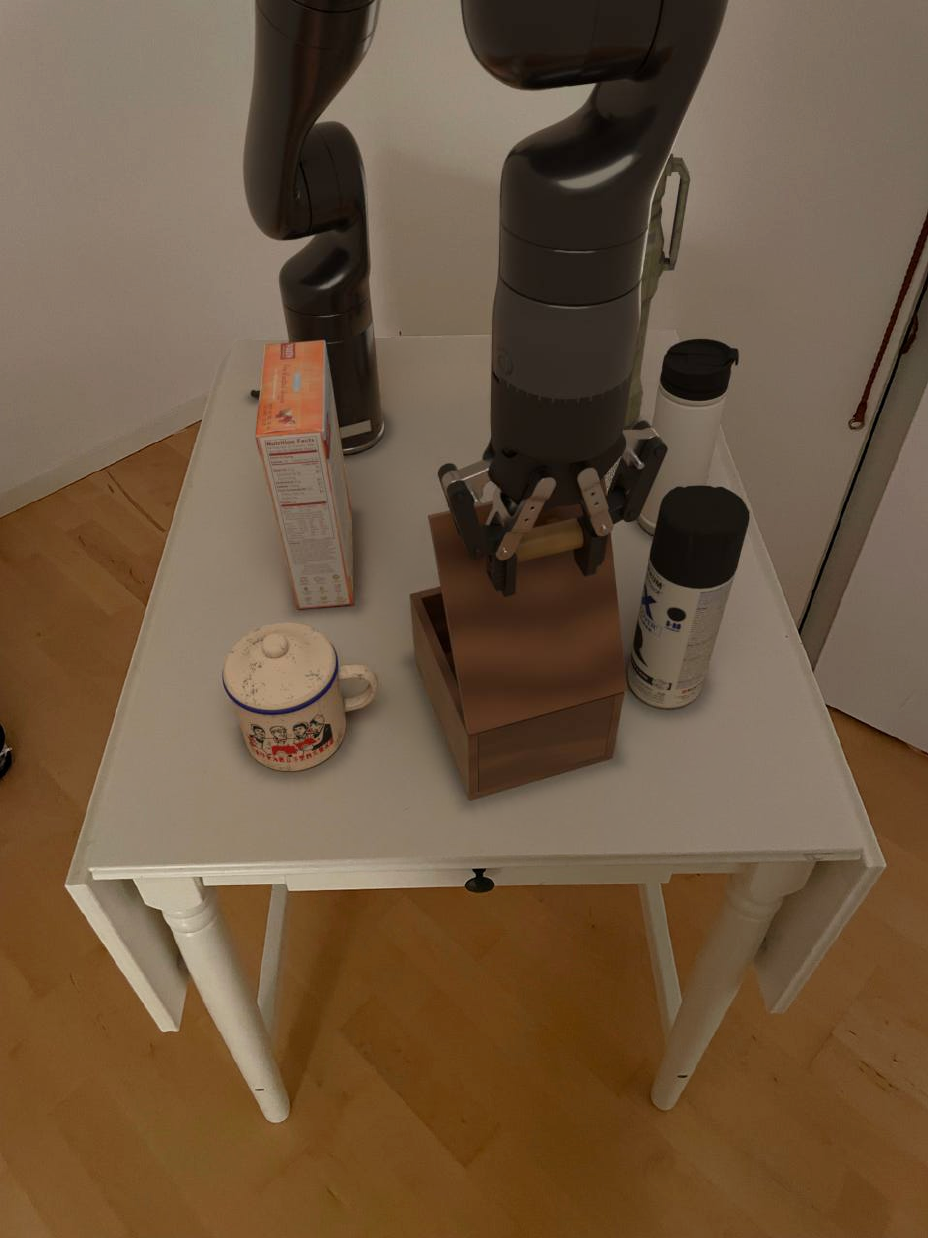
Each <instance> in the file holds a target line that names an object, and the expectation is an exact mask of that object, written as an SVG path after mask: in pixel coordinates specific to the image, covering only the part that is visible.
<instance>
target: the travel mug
mask: <svg viewBox="0 0 928 1238" xmlns="http://www.w3.org/2000/svg"><path fill="white" fill-rule="evenodd" d="M739 353H740V352H739V349H738V348H736V347H731V346H729V345H728V344H726V343H724V342H723V341H720V340H715V339H711V338H693V339H687V340H683V341H679V342H677V343H674V344H673V345H672V346H670V347H669V348H668V349H667V350H666V353H665V354H664V356H663V360H662V367H661V372H660V375H659V380H658V386H657V392H656V398H655V404H654V409H653V410H654V411H653V418H652V423H651V426H652V427H653V429H654V430H655V431H656V433H657V434H658V435H659V436H660V438H661V439H662V440H663V442H664V443H665V444H666V445H667V447H668V451H667V453H666V456H665V458H664V460H663V463H662V465H661V467H660V470H659V472H658V474H657V477H656V479H655V481H654V483H653V486H652V488H651V490H650V493H649V495H648V497H647V500H646V502H645V504H644V507H643V509H642V511H641V514H640V516H639V517H638V518H637V521H638V523H639V525H640V527H641V528H642V529H643V530H644V531H645V532H646V533H648V534H651V535H652V536H654V532H655V527H656V523H657V518H658V513H659V508H660V504H661V502H662V499H663V498H664V496H665V495H666V494H667V493H668V492H669V491H670V490H672V489H674V488H676V487H677V486H682V487H684V488H685V487H687V486H697V485H703V486H707V483H708V480H709V476H710V475H709V474H710V472H711V471H710V470H711V466H712V462H713V458H714V452H715V449H716V444H717V440H718V434H719V431H720V427H721V423H722V417H723V414H724V409H725V405H726V400H727V395H728V392H729V386H730V380H731V376H732V375H731V374H732V367H733V364H734V366H736V367H737V366H738V365H739V361H740V360H739V359H740V354H739Z"/></svg>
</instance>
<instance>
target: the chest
mask: <svg viewBox="0 0 928 1238" xmlns="http://www.w3.org/2000/svg"><path fill="white" fill-rule="evenodd" d="M409 604H410V615H411V617H410V618H411V627H412V628H411V629H412V639H413V640H412V641H413V650H414V651H413V653H414V662H415V664H416V667H417V669H418V672H419V674H420V677H421V680H422V681H423V685H424V688H425V690H426V693H427V696H428V698H429V700H430V703H431V705H432V708H433V710H434V714H435V716H436V718H437V721H438V723H439V726H440V729H441V731H442V734H443V736H444V739H445V742H446V744H447V747H448V750H449V752H450V754H451V757H452V760H453V763H454V765H455V767H456V770H457V772H458V775H459V778H460V781H461V783H462V785H463V788H464V790H465V793H466V796H467V798H468V801H473V800H476V799H480V798H483V797H487V796H490V795H493V794H496V793H500V792H504V791H507V790H511V789H514V788H517V787H521V786H523V785H527V784H530V783H534V782H536V781H540V780H544V779H547V778H551V777H554V776H557V775H561V774H563V773H567V772H571V771H575V770H577V769H581V768H583V767H588V766H590V765H594V764H597V763H600V762H604V761H607V760H610V759H613V758H614V752H615V747H616V741H617V735H618V732H619V724H620V720H621V714H622V709H623V702H624V697H625V692H621V693H618V694H614V695H610V696H607V697H603V698H600V699H596V700H593V701H589V702H586V703H582V704H579V705H575V706H571V707H568V708H564V709H561V710H557V711H554V712H550V713H547V714H543V715H540V716H536V717H533V718H529V719H525V720H522V721H518V722H515V723H511V724H508V725H504V726H501V727H497V728H494V729H490V730H486V731H483V732H479V733H476V734H472V735H469V734H468V732H467V731H466V726H465V720H464V714H463V709H462V703H461V698H460V692H459V686H458V681H457V675H456V670H455V664H454V659H453V653H452V647H451V642H450V636H449V631H448V625H447V619H446V614H445V608H444V603H443V597H442V592H441V586H436V587H432V588H428V589H424V590H420V591H415V592H412V593H409Z"/></svg>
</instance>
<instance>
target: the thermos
mask: <svg viewBox="0 0 928 1238" xmlns="http://www.w3.org/2000/svg"><path fill="white" fill-rule="evenodd" d="M673 173H678V175H679V183H678V188H677V189H678V190H677V196H676V203H675V210H674V215H673V221H672V229H671V235H670V242H669V249H668V250H669V251H668V257H666V254H665V251H664V246H665V237H664V231H663V226H662V215H663V205H662V202H663V201H662V199H663V198H664V196H665V194H666V187H667V181H668V177H672V174H673ZM690 184H691V175H690V171H689V169H688V167H687V165H686V163H685V160H684V158H683V157H678V156H677V157H675V156H674V153H671V154H670V156H669V158H668V161H667V163H666V165H665V168H664V170H663V173H662V175H661V177H660V180H659V182H658V185H657V187H656V190H655V194H654V197H653V201H652V207H651V216H650V223H649V230H648V237H647V244H646V251H645V258H644V265H643V271H642V280H641V318H640V328H639V341H638V345H637V349H636V354H635V361H634V368H633V374H632V381H631V387H630V394H629V401H628V408H627V414H626V421H625V427H624V430H632V428H633V426H634V425H635V424H636V423H638V419H639V416H640V415H641V407H642V401H643V396H644V395H643V394H644V391H643V382H642V379H641V374H642V366H643V359H644V352H645V346H646V340H647V339H646V338H647V332H648V323H649V318H650V311H651V310H650V309H651V304H652V300H653V298H654V296H655V294H656V292H657V291H658V288H659V279H660V278H661V277H662V275H663V273H664V272H669V271H675V268H676V264H677V261H678V258H679V257H678V256H679V252H680V245H681V241H682V233H683V229H684V228H683V226H684V221H685V214H686V208H687V202H688V195H689V190H690Z"/></svg>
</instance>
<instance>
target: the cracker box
mask: <svg viewBox="0 0 928 1238" xmlns="http://www.w3.org/2000/svg"><path fill="white" fill-rule="evenodd" d="M259 390H260V397H259V400H258V405H257V407H258V408H257V416H256V426H255V436H254V437H255V441H256V445H257V449H258V454H259V457H260V460H261V465H262V469H263V474H264V478H265V482H266V485H267V490H268V494H269V498H270V502H271V505H272V510H273V514H274V518H275V519H274V520H275V522H276V528H277V531H278V535H279V540H280V544H281V548H282V552H283V556H284V559H285V565H286V570H287V573H288V577H289V581H290V585H291V588H292V593H293V598H294V601H295V605H296V609H297V610H304V609H305V610H308V609H317V608H318V609H319V608H330V607H342V606H343V607H344V606H353V605H355V588H354V587H355V586H354V585H355V584H354V544H353V543H354V542H353V540H354V539H353V510H352V502H351V495H350V490H349V483H348V477H347V471H346V470H347V469H346V464H345V458H344V454H343V451H342V445H341V438H340V432H339V425H338V419H337V412H336V406H335V399H334V393H333V386H332V380H331V373H330V367H329V361H328V355H327V349H326V343H325V340H318V341H306V342H295V343H289V342H282V343H270V344H264V345H263V356H262V365H261V377H260V387H259Z"/></svg>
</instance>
